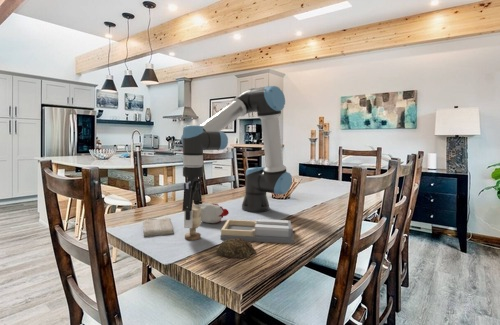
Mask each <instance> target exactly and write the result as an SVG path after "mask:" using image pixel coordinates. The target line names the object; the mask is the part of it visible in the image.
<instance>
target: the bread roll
mask: <svg viewBox="0 0 500 325" xmlns="http://www.w3.org/2000/svg"><path fill="white" fill-rule="evenodd" d="M216 253H217V255H218V256H221V257H224V258H228V259H247V258H249V257H250V256H251V255H252V254H253V255H254V254H256V253H257V252H256V249H255V248H254V247H253V244H252V243H250V242H249V241H244V240H242V239H228V240H223V241H222V242H221V243H220V244H219V246H218V247H217V250H216Z"/></svg>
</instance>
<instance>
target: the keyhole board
mask: <svg viewBox="0 0 500 325" xmlns="http://www.w3.org/2000/svg"><path fill="white" fill-rule="evenodd" d="M219 236H220V240H223V241H226V240H228V239H242V240H244V241H246V242H259V243H260V242H261V243H274V244H275V243H276V244H293V245H294V244H295V237H294V230H293V226H292V222H291V220H285V219H265V218H264V219H263V218H257V219H256V220H242V219H227V220H226V221H225V223H224V224H223V226H222V228H221V229H220V235H219Z"/></svg>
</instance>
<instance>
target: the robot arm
mask: <svg viewBox="0 0 500 325" xmlns="http://www.w3.org/2000/svg"><path fill="white" fill-rule="evenodd" d="M285 105H286V97H285V94H284V92H283V90H281V88H280V87H278V86H276V85H268V86H267V85H266V86H262V87H261V86H260V87H254V88H250V89H248V90H245V91H244V92H242V93H240V94H238V95H237V96H236V97H234V98H233V99H232V100H231V101H230V103H229V104H228V105H226V106H225V107H224V108H223V109H221V110H220V111H219V112H217V113H215V114H214V115H213V116H211V117H210V118H208V119H207V120H206V121H204V122H203V123H202V124H200V125H195V124H192V125H191V124H190V125H184V126H183V129H182V134H181V137H180V141H181V142H180V143H181V144H182V157H181V160H182V165H183V167H182V176H183V177H184V178H187V181H186V182H184V183H183V198H182V209H181V211H183V212H184V211H185V228H184V229H190V228H193V211H192V207H200V205H201V204H202V203H203V201H202V185H201V184H202V179H201V178H202V177H203V175H204V167H203V165H204V151H222V150H225V149H226V148H227V147H228V144H229V137H228V136H227V134H226V133H225V132H223V131H222V130H224V129H225V128H226V127H228V126H229V125H230V124H232V123H233V122H234V121H236V120H238V118H240V117H245V115H248V114H251V113H256V114H257V117H258V118H259V120H260V121H261V131H262V140H263V150H264V160H265V166H261V167H259V166H257V167H249V168H247V169H246V170H245V175H244V176H245V178H244V179H245V180H244V181H245V192H244V197H243V201H242V203H241V209H242V211H246V212H250V213H251V212H252V213H261V212H266V211H267V212H268V211H269V210H270V204H269V200H268V197H267V193H269V194H273V195H274V194H275V195H285V194H286V193H288V192H289V191H290V189H291V186H292V184H293V176H292V175H291V173H290V172H288V171H287V167H286V166H285V165H284V163H283V162H284V160H283V153H282V142H281V140H282V139H281V129H280V120H279V117H280V116H281V115H282V110H284V108H285Z"/></svg>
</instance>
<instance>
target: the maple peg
mask: <svg viewBox="0 0 500 325" xmlns="http://www.w3.org/2000/svg"><path fill="white" fill-rule="evenodd" d="M192 211H193V228H189V232H186V233H185V234H184V239H185V240H187V241H198V240H201V233H200V232H197V229H198V228H199V227H200V226H201V224H202V221H201V207H193V206H192ZM183 212H184V213H183V214H184V215H183V216H184V218H183V219H184V220H183V221H184V223H183V225H184V229H186V228H185V211H183Z"/></svg>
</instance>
